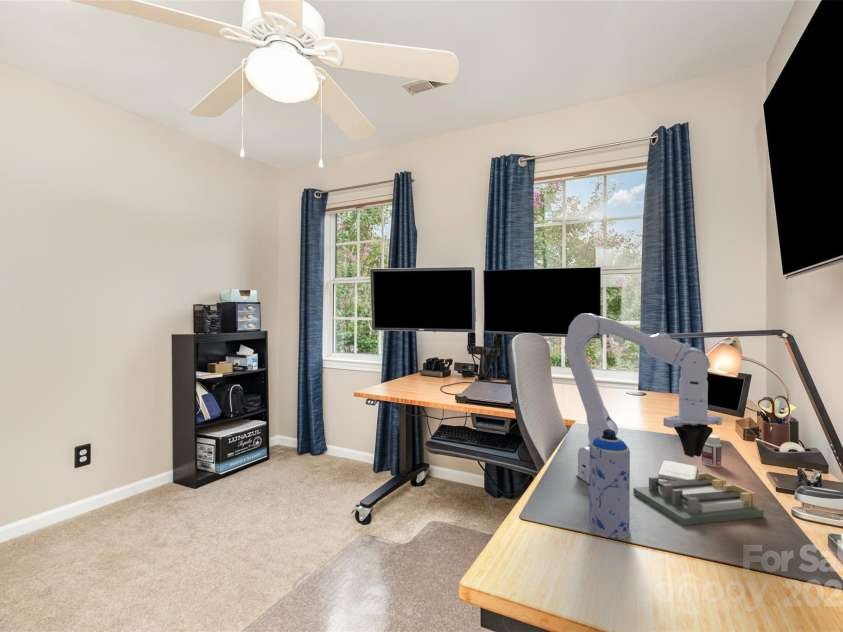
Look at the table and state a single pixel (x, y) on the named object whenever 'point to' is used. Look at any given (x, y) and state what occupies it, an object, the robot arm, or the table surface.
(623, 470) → the aerosol can
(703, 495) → the strap front
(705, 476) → the board
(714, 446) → the pill bottle
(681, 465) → the external hard drive
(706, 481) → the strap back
